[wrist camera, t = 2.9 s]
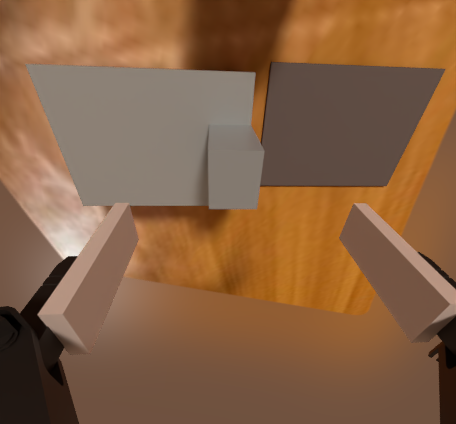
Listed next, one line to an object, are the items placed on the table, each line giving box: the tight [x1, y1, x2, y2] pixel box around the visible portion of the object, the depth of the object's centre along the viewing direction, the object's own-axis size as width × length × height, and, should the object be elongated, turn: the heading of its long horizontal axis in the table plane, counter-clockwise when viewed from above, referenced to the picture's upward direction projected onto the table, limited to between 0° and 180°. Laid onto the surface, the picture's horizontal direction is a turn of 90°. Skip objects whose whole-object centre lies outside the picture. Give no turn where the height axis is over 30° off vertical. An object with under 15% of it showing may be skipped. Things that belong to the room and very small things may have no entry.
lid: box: [26, 64, 265, 209], centre depth 20 cm, size 19×14×9 cm
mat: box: [260, 62, 445, 186], centre depth 29 cm, size 20×15×1 cm
